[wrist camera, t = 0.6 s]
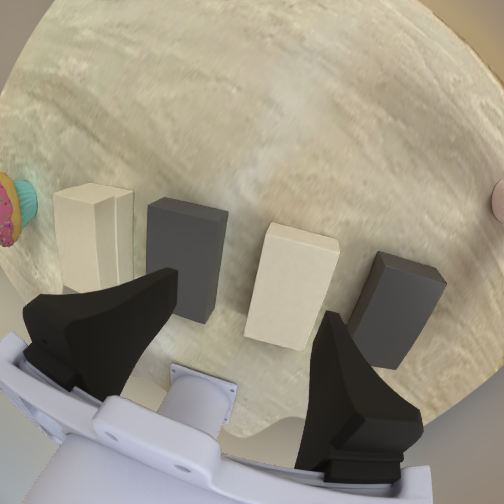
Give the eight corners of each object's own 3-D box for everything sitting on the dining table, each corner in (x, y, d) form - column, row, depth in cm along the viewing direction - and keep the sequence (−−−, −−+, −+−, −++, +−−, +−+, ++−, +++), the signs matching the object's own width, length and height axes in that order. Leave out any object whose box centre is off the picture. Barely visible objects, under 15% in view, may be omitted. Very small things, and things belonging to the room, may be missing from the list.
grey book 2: (391, 351, 22) (396, 370, 20) (339, 340, 23) (339, 360, 21) (436, 268, 19) (447, 283, 16) (378, 250, 19) (384, 265, 17)
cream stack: (134, 281, 26) (104, 308, 21) (93, 265, 26) (62, 288, 22) (134, 188, 22) (95, 203, 17) (89, 180, 22) (51, 193, 18)
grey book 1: (214, 307, 25) (204, 324, 22) (160, 290, 25) (147, 304, 23) (228, 211, 21) (217, 221, 18) (164, 196, 21) (147, 204, 19)
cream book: (304, 332, 24) (302, 351, 21) (249, 318, 24) (242, 336, 22) (337, 239, 20) (340, 253, 17) (271, 221, 20) (265, 233, 18)
